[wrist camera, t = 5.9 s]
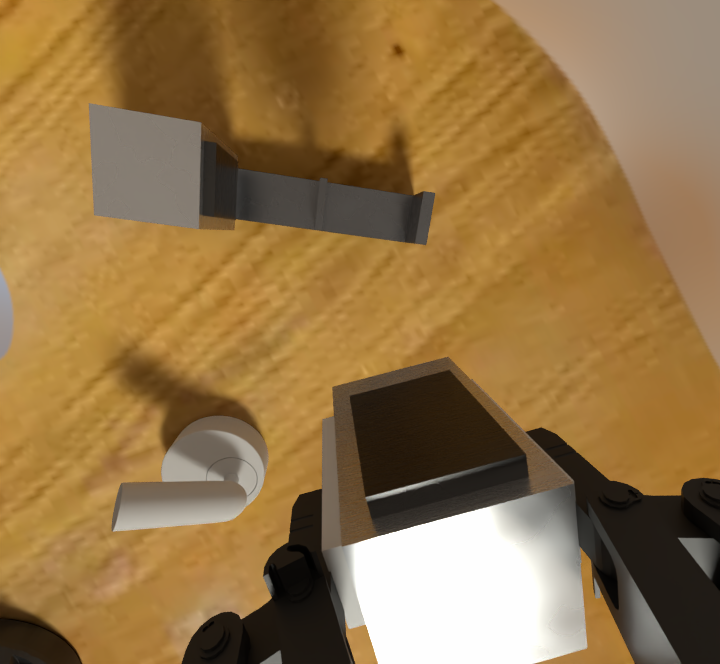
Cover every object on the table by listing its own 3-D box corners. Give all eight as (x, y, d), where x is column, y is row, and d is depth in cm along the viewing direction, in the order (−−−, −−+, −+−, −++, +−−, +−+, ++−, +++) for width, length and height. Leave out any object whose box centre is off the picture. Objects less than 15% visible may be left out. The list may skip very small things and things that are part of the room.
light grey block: (465, 456, 17) (587, 648, 9) (360, 484, 17) (392, 704, 9) (445, 343, 15) (572, 459, 7) (328, 373, 15) (334, 524, 7)
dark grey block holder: (154, 218, 28) (61, 210, 18) (154, 148, 27) (53, 97, 17) (406, 252, 31) (448, 261, 21) (416, 189, 29) (466, 167, 19)
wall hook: (111, 465, 23) (266, 505, 25) (171, 398, 32) (281, 431, 34) (81, 570, 25) (227, 600, 27) (146, 478, 34) (251, 505, 36)
